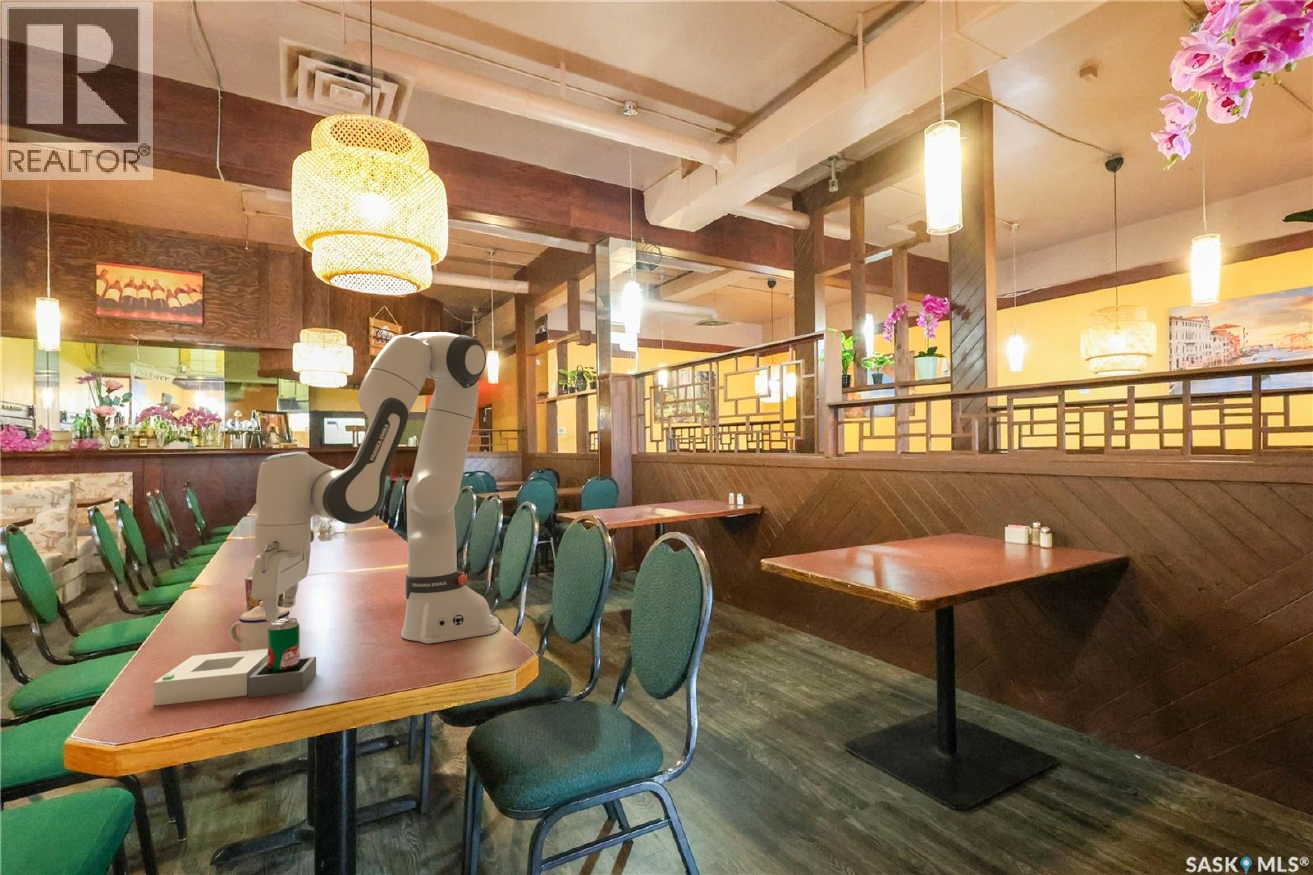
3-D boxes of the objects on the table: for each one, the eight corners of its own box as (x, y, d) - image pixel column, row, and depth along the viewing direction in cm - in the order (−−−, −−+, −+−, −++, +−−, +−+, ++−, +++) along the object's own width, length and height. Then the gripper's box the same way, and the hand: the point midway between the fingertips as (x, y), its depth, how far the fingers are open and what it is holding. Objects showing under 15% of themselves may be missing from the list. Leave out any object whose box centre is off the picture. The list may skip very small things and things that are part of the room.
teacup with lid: (298, 648, 132) (298, 595, 132) (271, 662, 123) (271, 606, 123) (246, 648, 132) (246, 596, 133) (214, 663, 123) (214, 606, 124)
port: (273, 668, 120) (273, 646, 120) (246, 695, 106) (246, 670, 106) (192, 676, 116) (192, 653, 116) (153, 705, 102) (153, 680, 103)
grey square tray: (316, 674, 116) (316, 656, 116) (302, 691, 108) (302, 672, 108) (265, 679, 114) (265, 661, 114) (248, 697, 105) (248, 677, 105)
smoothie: (291, 628, 147) (291, 547, 147) (254, 638, 140) (254, 553, 140) (275, 624, 151) (274, 545, 152) (238, 632, 144) (238, 550, 145)
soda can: (284, 691, 108) (284, 625, 108) (260, 690, 109) (260, 624, 109) (306, 681, 113) (306, 617, 113) (283, 679, 114) (283, 616, 114)
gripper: (284, 546, 102) (281, 627, 101) (316, 531, 121) (314, 599, 121) (242, 547, 100) (239, 630, 100) (281, 532, 120) (279, 601, 119)
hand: (280, 613), depth 110 cm, fingers open, 8 cm apart
